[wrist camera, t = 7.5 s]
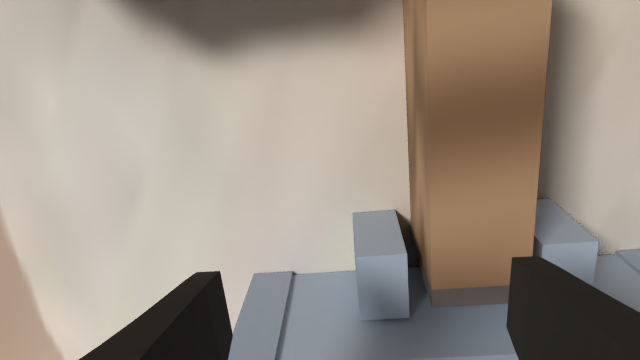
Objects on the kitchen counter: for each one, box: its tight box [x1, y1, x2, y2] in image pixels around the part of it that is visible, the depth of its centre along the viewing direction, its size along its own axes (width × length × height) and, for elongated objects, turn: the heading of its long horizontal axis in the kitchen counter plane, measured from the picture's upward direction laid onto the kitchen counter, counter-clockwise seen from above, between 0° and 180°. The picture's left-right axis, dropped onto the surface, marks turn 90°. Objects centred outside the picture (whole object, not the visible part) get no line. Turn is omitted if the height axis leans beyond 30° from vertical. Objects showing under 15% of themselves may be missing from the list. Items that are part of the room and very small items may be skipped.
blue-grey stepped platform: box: [228, 198, 640, 360], centre depth 17 cm, size 5×20×7 cm, turn 96°
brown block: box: [403, 0, 552, 308], centre depth 16 cm, size 13×4×5 cm, turn 6°
